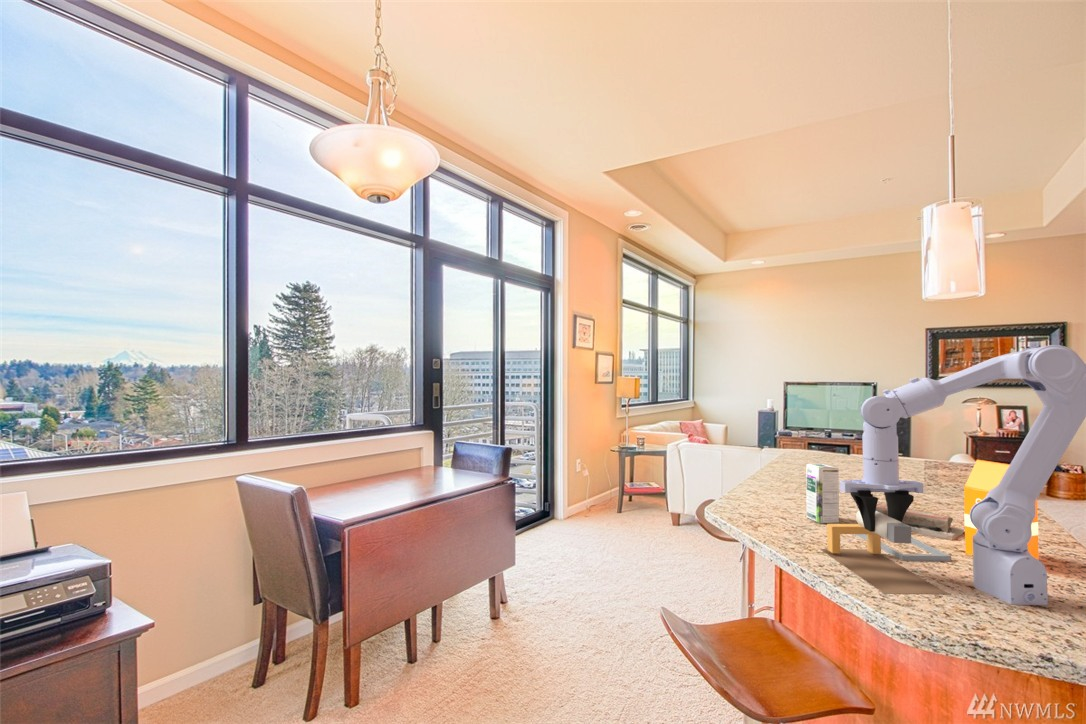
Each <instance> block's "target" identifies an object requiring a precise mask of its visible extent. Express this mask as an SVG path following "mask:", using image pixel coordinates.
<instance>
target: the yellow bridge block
mask: <svg viewBox="0 0 1086 724" xmlns="http://www.w3.org/2000/svg"><path fill="white" fill-rule="evenodd" d="M826 526H827V527H826V530H827V531H826V532H827V533H826V536H827V537H826V538H827V540H826V542H827V545H826V546H827V547H826V548H827V549H828V551H830V552H831V553H840V549H841V535H855V534H867V541H866V547H867V548H866V549H867V550H868V551H869V552H871V553H873V554H881V553H882V549H881V542H882V541H881V540H882V536H880V535H878V534H876V533H874V532H870V531H868V530H866V529H865V528H864V527H862V526H860V525H859V524H858V523H826ZM881 555H882V554H881Z"/></svg>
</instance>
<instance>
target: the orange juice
mask: <svg viewBox="0 0 1086 724" xmlns="http://www.w3.org/2000/svg"><path fill="white" fill-rule="evenodd" d="M1010 464H1011V463H1009V464H1008V463H1003V462H1002V463H1001V462H995V461H989V460H983V459H976V461H975V463H974V466H973V468H972V470H971V471H970V474H969V477H968V478H967V480H966V481H965V482H966V483H965V485H963V492H964V493H963V495H964V497H963V502H964V513H963V515H964V540H965V543H964V544H965V548H964V550H965V554H966V553H967V554H966V555H968V554H970V555H969V556H971V555H973V539H972V537H973V536H974V535H975V534H976V532H977V528H976V527H975V526H974V525H973V524H972V522H971V520H970V510H971V508H972V507H973V506H974V505H975V504H976V503H978V502H980V501H982V500H983V499H984V498H985V497H986V496H987V494H988V492H989V491H990V490H992V489H993V488H994V487H996V486H997V485H998V484H999V483H1000V481H1001V479H1002V477H1003V476H1004V474H1005V472H1006V470H1007V469H1008V467H1009V465H1010ZM1035 508H1036V516H1035V518H1034V520H1033V522H1032V525H1031V530H1032V537H1031V540H1030V541H1029V543H1028V544H1027V545H1028V551H1029V552H1030V554H1031V555H1032V556H1033V557H1034V558H1036V559H1038V560H1039V559H1040V558H1039V554H1040V553H1039V520H1038V519H1039V518H1038V517H1039V515H1038V499H1037V500H1036V502H1035ZM1039 561H1040V560H1039Z"/></svg>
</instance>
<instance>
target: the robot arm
mask: <svg viewBox="0 0 1086 724" xmlns="http://www.w3.org/2000/svg"><path fill="white" fill-rule="evenodd" d="M1000 379H1003V380H1005V379H1009V380H1010V379H1011V380H1012V379H1013V380H1021V381H1023V382H1024V383H1025V384H1026V385H1028V386H1029V387H1030V388H1032V389H1033V391H1034V393H1035V394H1036V395H1037V397H1038V398H1039V400H1040V401H1041V403H1042V405H1043V407H1042V409H1040V412H1039V413H1038V415H1037V417H1036V418H1035V421H1034V422H1033V424H1032V425H1031V427H1030V429H1029V431H1028V433H1027V434H1026V436H1025V438H1023V439H1024V440H1023V441H1022V443H1021V444H1020V446H1019V448H1018V450H1017V452H1016V453H1015V455H1014V457H1013V459H1011V462H1010V463H1009V464H1010V465H1009V467H1008V469H1007V470H1006V472H1005V474H1004V476H1003V477H1002V479H1001V481H1000V483H999V484H998V485H997V486H996V487H994V488H993V489H992V490H990V491H989V492H988V494H987V496H986V497H985V498H984V499H983V500H982V501H980V502H978V503H976V504H975V505H974V506H973V507H972V508H971V510H970V520H971V522H972V524H973V525H974V526H975V527H976V528H977V532H976V534H975V535H974V536H973V537H972V539H973V556H972V568H973V569H972V571H973V575H972V577H973V587H974V588H975V589H976V590H978V591H980V592H981V593H985V594H987V595H990V596H993V597H995V598H997V599H998V600H1001V601H1003V602H1005V603H1007V604H1008V605H1016V606H1017V605H1019V606H1021V605H1022V606H1023V605H1024V606H1026V605H1027V606H1048V605H1049V602H1048V599H1049V598H1048V594H1049V593H1048V571H1047V569H1046V567H1045V565H1044V563H1043V562H1042V561H1040V560H1038V559H1036V558H1034V557H1033V556H1032V555H1031V554H1030V552H1029V551H1028V545H1027V544H1028V543H1029V541H1030V540H1031V537H1032V530H1031V525H1032V522H1033V520H1034V518H1035V516H1036V508H1035V502H1036V500H1037V501H1038V498H1039V496H1040V494H1041V492H1042V491H1043V490H1044V487H1045V486H1046V484H1047V483H1048V482H1049V479H1050V477H1051V476H1052V474H1053V472H1054V471H1055V469H1056V468H1057V467H1058V465H1059V462H1061V460H1062V458H1063V456H1064V455H1065V453H1066V451H1067V449H1068V447H1069V445H1070V444H1071V442H1072V441H1073V439H1074V438H1075V436H1076V434H1077V433H1078V431H1079V430H1080V427H1081V426H1082V424H1083V423H1084V421H1085V419H1086V363H1085V362H1084V360H1083V359H1082V357H1080V355H1079V354H1078V352H1076V351H1074V350H1073V349H1072V348H1069V347H1068V346H1064V345H1059V344H1049V345H1045V346H1040V347H1039V346H1033V347H1026V348H1024V349H1021V350H1020V351H1014V352H1010V353H1005V354H1002V355H998V356H996V357H991V358H990V359H987V360H984V361H982V362H979V363H976V364H975V365H971V366H970V367H967V368H965V369H961V370H960V371H957V372H954V373H952V374H950V375H948V376H945V377H943V378H940V379H938V380H936V379H932V378H930V377H922V378H918V377H916V376H915V377H913V378H910V379H909V383H906V384H903V385H901V386H900V387H899V386H898V387H896V388H894V389H891V390H889V388H887V389H884V390H882V394H883V395H874V396H870V397H869V398H866V400H864V402H863V403H862V404H861V408H860V410H859V412H860V416H861V417H862V418H863V419H862V420H864V421H863V423H862V430H863V433H862V435H861V437H862V476H863V477H862V478H860V479H859V478H858V479H849V480H839V492H842V493H845V494H850V496H851V497H852V499H853V500H854V502H855V504H856V506H857V509H858V511H860V514H861V516H862V520H863V523H864V527H865V529H866V530H868V531H870V532H875V512H876V506H877V504H878V501H879V498H878V497H876V496H874V495H873V493H883V494H884V497H885V502H886V504H887V509H888V516H889V517H891V518H893V519H896V520H898V521H900V522H902V520H903V518H904V515H905V513H906V511H907V509H910V506H911V505H912V503H913V502H914V499H915V498H914V495H913V494H910V493H917V494H924V483H923V482H921V481H918V480H902V479H901V480H900V473H899V472H900V471H899V470H900V468H899V467H900V465H899V463H900V462H899V460H900V459H899V436H898V433H897V431H898V430H897V423H898V422H899V421H900V418H902V419H908V418H911V417H914V416H916V415H919V414H921V413H926V412H928V411H930V410H934V409H936V408H939V407H942V406H943V405H944V403H945V401H946V399H947V397H948V396H950V395H954V394H956V393H960V392H963V391H966V390H970V389H972V388H975V387H978V386H980V385H984V384H987V383H990V382H993V381H996V380H1000Z"/></svg>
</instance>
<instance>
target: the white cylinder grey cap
mask: <svg viewBox="0 0 1086 724" xmlns="http://www.w3.org/2000/svg"><path fill="white" fill-rule="evenodd" d="M855 520H856V523H857V524H859V525H860V526H862V527H864V523H863V520H862V516H861V514H860V511H859V510H858V511H856V515H855ZM864 528H865V527H864ZM874 533H876V534H878V535H880V536H881V538H884V539H885V540H888V541H890V542H891V543H894V544H911V537H912V532H911V526H909V525H906V524H904V523H902V522H900V521H898V520H896V519H893V518H891V517H889V516H887V515H884V514H882V513H880V512H878V511H876V512H875V532H874Z"/></svg>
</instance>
